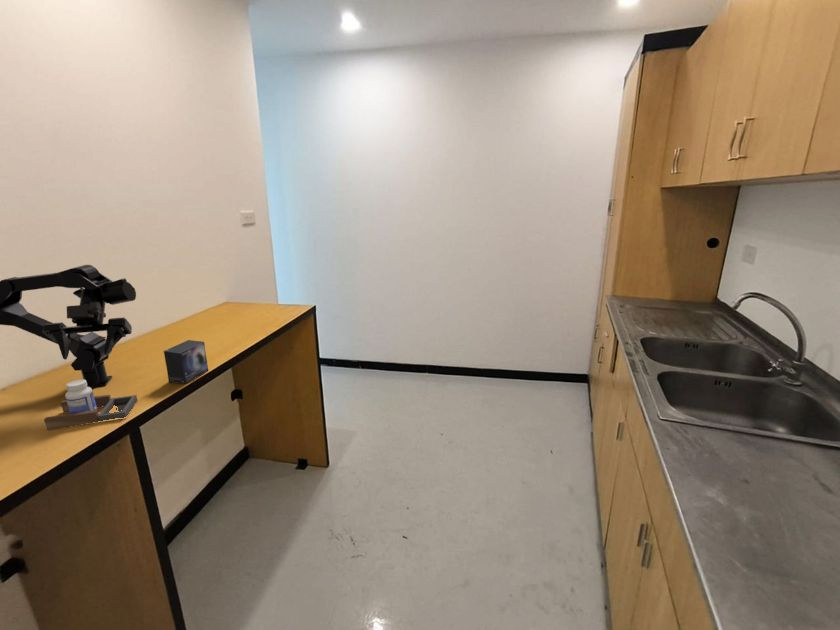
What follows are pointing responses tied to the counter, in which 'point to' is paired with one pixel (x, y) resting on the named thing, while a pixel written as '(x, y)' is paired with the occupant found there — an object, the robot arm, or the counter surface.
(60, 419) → the walnut channel
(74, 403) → the pill bottle
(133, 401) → the dark shallow tray
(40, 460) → the counter surface
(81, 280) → the robot arm
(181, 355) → the small box
